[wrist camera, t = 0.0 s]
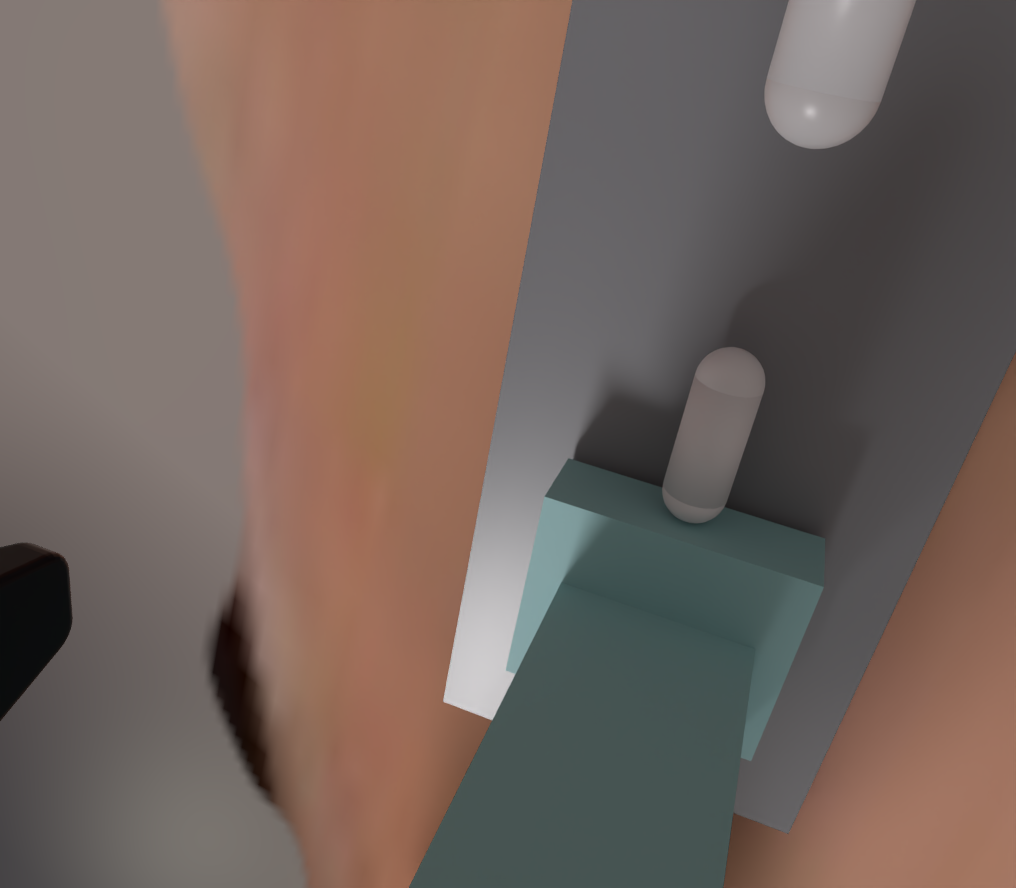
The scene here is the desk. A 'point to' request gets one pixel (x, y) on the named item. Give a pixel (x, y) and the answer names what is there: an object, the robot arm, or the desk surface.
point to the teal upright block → (636, 669)
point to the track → (763, 302)
